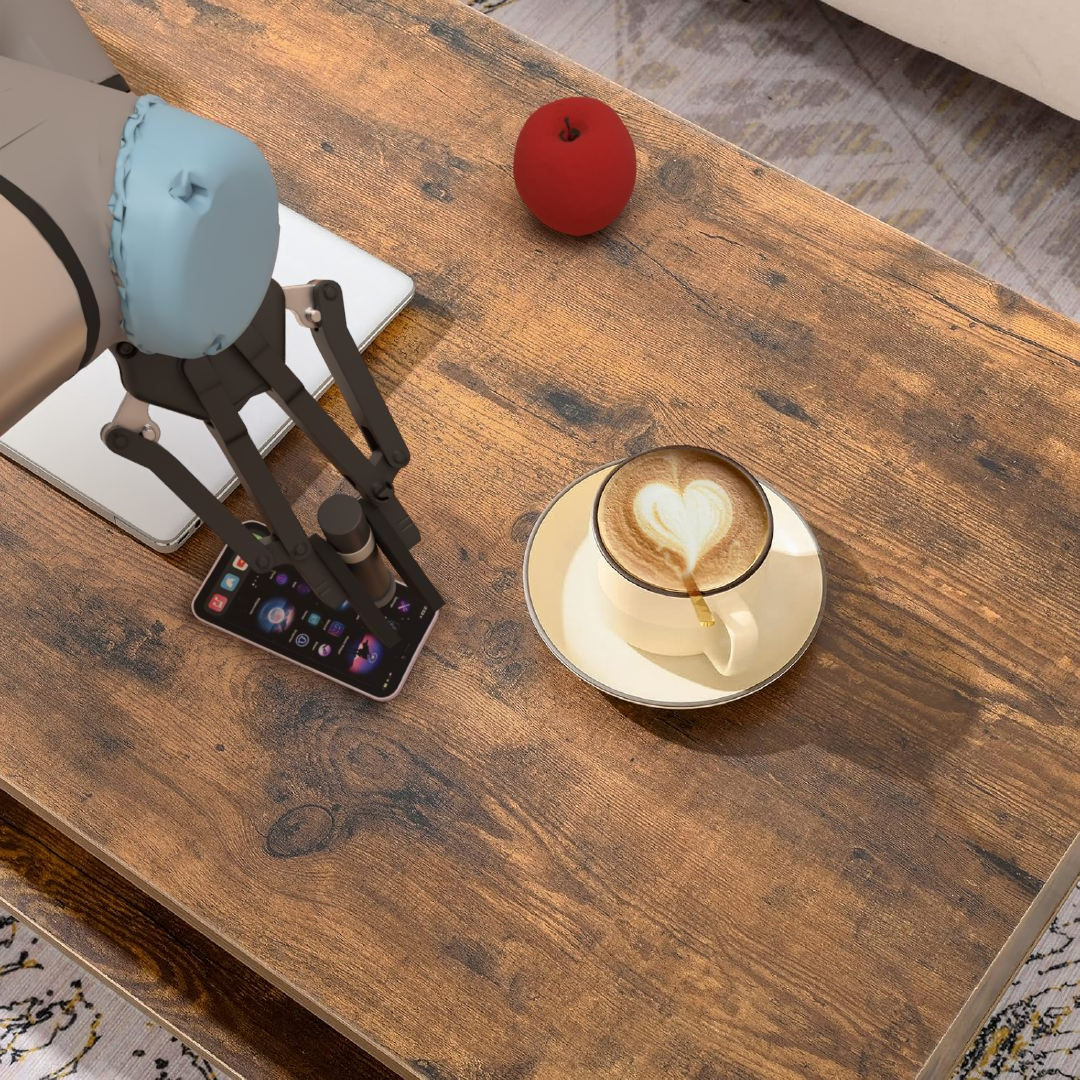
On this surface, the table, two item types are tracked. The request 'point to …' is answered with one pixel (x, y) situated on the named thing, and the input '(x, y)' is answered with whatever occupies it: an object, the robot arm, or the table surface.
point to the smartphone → (312, 623)
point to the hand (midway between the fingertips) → (408, 618)
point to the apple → (575, 165)
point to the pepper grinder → (356, 545)
